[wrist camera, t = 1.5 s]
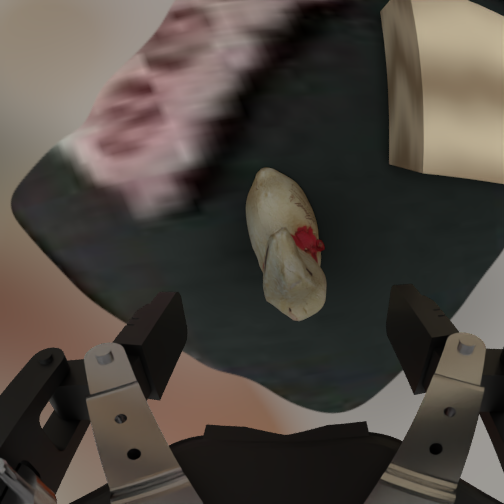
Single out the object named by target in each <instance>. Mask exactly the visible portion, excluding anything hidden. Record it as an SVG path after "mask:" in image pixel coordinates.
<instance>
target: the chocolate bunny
mask: <svg viewBox="0 0 504 504" xmlns="http://www.w3.org/2000/svg"><path fill="white" fill-rule="evenodd" d="M246 219H247V227H248V232H249V236H250V240H251V244H252V247H253V250H254V252H255V254H256V256H257V258H258V261H259V266H260V268H261V270H262V272H263V290H264V294H265V295H264V296H265V298H266V300H267V302H269V303H271V304H272V305H274V306H275V307H276V308H278V309H279V310H280V311H281V312H283V313H284V314H286V315H287V316H289V317H290V318H291V319H292V320H296V321H301V320H304V319H306V318H308V317H310V316H312V315H313V314H315V313H317V312H318V311H319V310H320V309H321V308H322V307H323V305H324V303H325V298H326V285H327V283H326V278H325V274H324V272H323V271H322V269H321V267H320V265H321V251H323V250H324V249H325V247H324V244H323V242H322V240H319V236H318V227H317V222H316V218H315V215H314V212H313V210H312V207H311V205H310V203H309V201H308V199H307V197H306V195H305V193H304V192H303V190H302V189H301V187H300V186H299V185H298V184H297V183H296V182H295V181H293V180H292V179H291V178H289V177H287V176H285V175H284V174H282V173H280V172H278V171H277V170H275V169H272V168H267V167H265V168H261V169H260V170H259V172H257V174H256V177H255V180H254V182H253V184H252V186H251V189H250V191H249V193H248V197H247V201H246Z"/></svg>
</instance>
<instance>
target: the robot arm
mask: <svg viewBox="0 0 504 504" xmlns="http://www.w3.org/2000/svg"><path fill="white" fill-rule="evenodd" d="M386 331H387V336H388V338H389V340H390V342H391V345H392V347H393V349H394V351H395V353H396V355H397V357H398V360H399V362H400V364H401V366H402V368H403V371H404V373H405V375H406V377H407V379H408V382H409V384H410V386H411V389H412V391H413V393H414V395H416V394H422V393H426V394H425V397H424V399H423V401H422V403H421V406H420V408H419V410H418V412H417V414H416V416H415V419H414V421H413V422H412V425H411V427H410V429H409V430H408V432H407V434H406V436H405V438H404V440H403V441H401V440H399V439H396V438H394V437H391V436H388V435H384V434H379V433H373V432H368V427H367V423H366V421H364V422H356V423H346V424H335V425H326V426H323V427H319V428H315V429H311V430H307V431H304V432H299V433H295V434H290V435H282V434H276V433H271V432H266V431H262V430H257V429H252V428H248V427H237V426H219V425H206V428H205V432H204V435H203V436H196V437H191V438H188V439H184V440H181V441H178V442H176V443H173V444H171V445H169V446H168V444H167V442H166V440H165V438H164V436H163V434H162V432H161V430H160V429H159V427H158V424H157V422H156V420H155V418H154V416H153V414H152V412H151V410H150V408H149V406H148V404H147V399H154V400H160V399H161V397H162V395H163V392H164V390H165V388H166V385H167V383H168V381H169V379H170V377H171V374H172V372H173V370H174V368H175V365H176V363H177V361H178V359H179V357H180V354H181V352H182V350H183V348H184V346H185V343H186V340H187V325H186V320H185V315H184V310H183V304H182V299H181V295H180V293H179V292H159V293H158V294H157V296H156V297H155V298H154V299H153V301H152V302H151V303H150V304H147V305H145V306H143V307H142V308H140V309H139V310H137V312H136V313H135V314H134V315H133V317H132V319H130V320H129V322H128V323H127V325H126V326H125V327H124V328H123V330H122V331H121V332H120V333H119V335H118V336H117V337H116V338H115V340H114V341H113V343H103V344H100V345H97V346H95V347H93V348H92V349H90V350H89V351H88V352H87V353H86V355H85V357H84V359H81V360H70V361H67V359H66V357H65V355H64V353H63V351H62V350H61V349H59V348H47V349H44V350H42V351H40V352H38V353H37V354H35V355H34V356H33V357H32V358H31V359H30V360H29V362H28V363H27V364H26V365H25V366H24V368H23V369H22V370H21V371H20V372H19V373H18V374H17V376H16V377H15V378H14V379H13V380H12V382H11V383H10V384H9V385H8V386H7V388H6V389H5V390H4V391H3V393H2V394H1V395H0V504H57V499H56V496H55V494H56V492H57V490H58V488H59V486H60V484H61V481H62V479H63V477H64V475H65V473H66V471H67V468H68V467H69V464H70V462H71V460H72V458H73V456H74V454H75V452H76V450H77V448H78V446H79V444H80V442H81V440H82V438H83V436H84V434H85V432H86V430H87V428H88V426H89V424H90V422H91V425H92V430H93V434H94V437H95V442H96V446H97V449H98V453H99V456H100V460H101V463H102V467H103V470H104V473H105V476H106V479H107V482H108V483H107V484H105V485H103V486H102V487H100V488H98V489H97V490H95V491H93V492H91V493H89V494H87V495H85V496H83V497H81V498H79V499H77V500H75V501H73V502H71V503H69V504H504V503H502V502H500V501H498V500H496V499H495V498H493V497H491V496H489V495H487V494H486V493H484V492H482V491H481V490H479V489H477V488H476V487H474V486H472V485H471V484H469V483H467V482H466V481H464V480H462V479H461V478H460V476H461V474H462V471H463V468H464V465H465V462H466V459H467V456H468V453H469V450H470V446H471V443H472V439H473V436H474V432H475V428H476V424H477V421H478V416H479V414H480V416H481V418H482V421H483V423H484V425H485V427H486V430H487V432H488V434H489V436H490V439H491V441H492V444H493V446H494V449H495V451H496V453H497V456H498V459H499V461H500V463H501V467H502V469H503V472H504V348H503V349H486V347H485V344H484V343H483V341H482V340H481V339H480V338H478V337H477V336H475V335H472V334H468V333H459V331H458V330H457V329H456V328H455V326H454V325H453V324H452V322H451V321H450V320H449V319H448V317H447V316H445V314H444V313H443V311H442V310H440V308H439V306H438V305H437V304H436V303H435V302H434V301H433V300H431V299H430V298H428V297H426V296H424V295H423V296H422V295H421V294H420V293H419V292H418V290H417V289H416V288H415V287H414V286H413V285H412V284H403V285H393V286H392V289H391V293H390V301H389V308H388V314H387V321H386ZM48 401H49V402H50V403H51V405H52V407H53V408H54V411H53V413H52V414H51V416H50V417H49V419H48V421H47V422H46V424H45V425H44V427H43V429H42V428H41V426H40V422H39V417H40V414H41V412H42V410H43V408H44V407H45V406H46V404H47V403H48Z"/></svg>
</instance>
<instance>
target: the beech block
mask: <svg viewBox="0 0 504 504" xmlns="http://www.w3.org/2000/svg"><path fill="white" fill-rule="evenodd" d="M380 14H381V21H382V28H383V36H384V45H385V55H386V66H387V80H388V99H389V164H390V165H394V166H398V167H402V168H405V169H409V170H413V171H416V172H420V173H425V174H434V175H443V176H452V177H460V178H468V179H475V180H482V181H488V182H495V183H501V184H504V16H502V15H500V14H498V13H495V12H493V11H491V10H489V9H487V8H485V7H482V6H480V5H478V4H475V3H473V2H470V1H468V0H390V1H389V2H388V3H387V4H386V6H385V7H384V8H383V9H382V10H381V12H380Z"/></svg>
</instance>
